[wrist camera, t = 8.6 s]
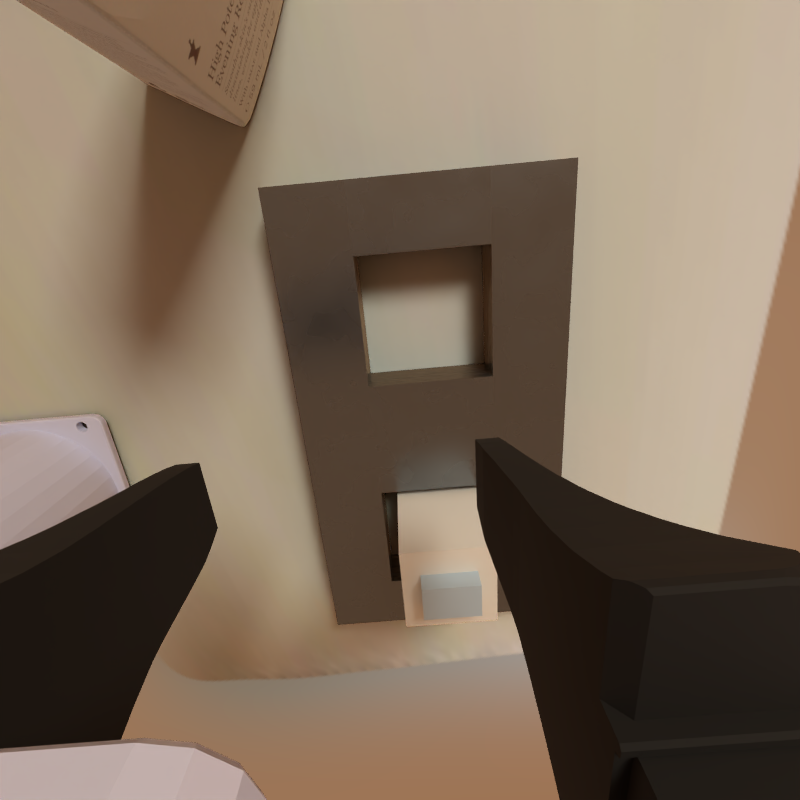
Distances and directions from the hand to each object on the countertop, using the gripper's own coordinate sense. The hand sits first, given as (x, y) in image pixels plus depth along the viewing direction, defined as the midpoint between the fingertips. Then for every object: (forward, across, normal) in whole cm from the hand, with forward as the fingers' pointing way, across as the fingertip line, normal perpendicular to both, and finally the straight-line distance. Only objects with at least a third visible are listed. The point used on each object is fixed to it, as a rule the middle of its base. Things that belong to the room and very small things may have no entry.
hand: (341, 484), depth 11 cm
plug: (+10, -3, +8) cm, 14 cm away
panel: (+10, -3, +3) cm, 11 cm away
